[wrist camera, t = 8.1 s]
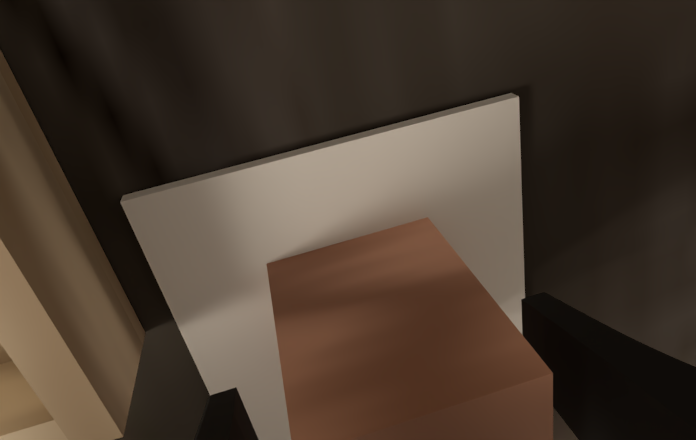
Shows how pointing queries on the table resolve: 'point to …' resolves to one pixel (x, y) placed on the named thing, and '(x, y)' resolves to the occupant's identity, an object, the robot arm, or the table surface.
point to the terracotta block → (402, 345)
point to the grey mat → (327, 231)
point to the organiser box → (56, 298)
